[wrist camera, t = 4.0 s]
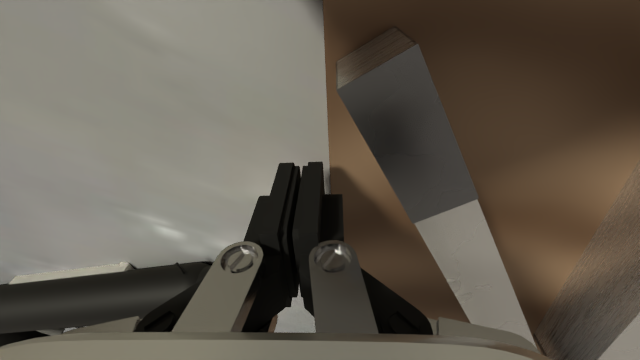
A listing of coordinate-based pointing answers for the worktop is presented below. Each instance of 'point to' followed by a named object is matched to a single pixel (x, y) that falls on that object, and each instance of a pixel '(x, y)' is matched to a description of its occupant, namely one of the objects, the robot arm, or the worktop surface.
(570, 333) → the arm
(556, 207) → the cutting board
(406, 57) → the tongs arm
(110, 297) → the black submachine gun
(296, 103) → the worktop surface
